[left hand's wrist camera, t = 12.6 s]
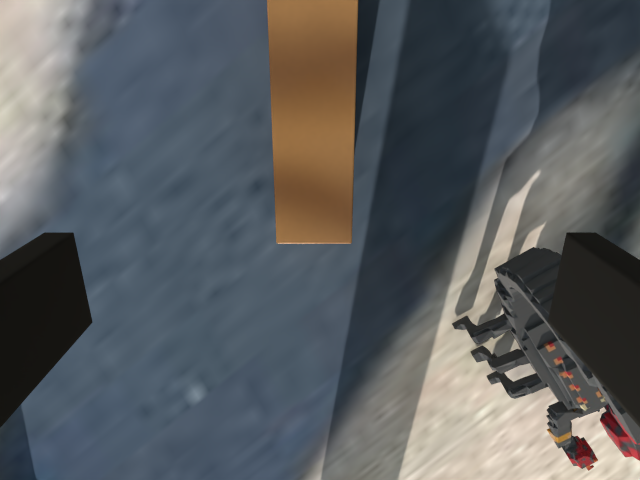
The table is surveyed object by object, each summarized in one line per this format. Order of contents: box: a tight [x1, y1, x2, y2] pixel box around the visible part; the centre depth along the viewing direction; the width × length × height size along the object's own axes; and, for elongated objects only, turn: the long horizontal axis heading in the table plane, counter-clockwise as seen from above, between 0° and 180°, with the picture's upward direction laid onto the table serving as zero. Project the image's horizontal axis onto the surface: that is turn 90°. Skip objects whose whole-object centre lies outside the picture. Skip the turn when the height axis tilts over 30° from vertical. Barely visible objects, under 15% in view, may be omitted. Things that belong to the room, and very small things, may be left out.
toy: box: [452, 247, 640, 471], centre depth 31 cm, size 13×27×18 cm, turn 34°
